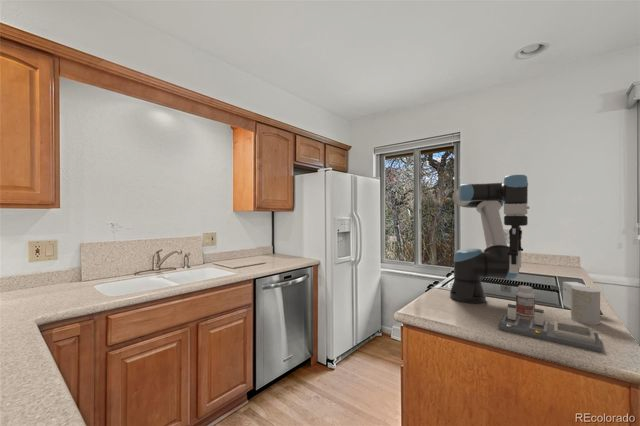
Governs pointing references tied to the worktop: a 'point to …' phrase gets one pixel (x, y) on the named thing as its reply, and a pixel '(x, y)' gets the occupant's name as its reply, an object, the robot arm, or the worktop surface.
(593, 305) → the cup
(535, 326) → the panel
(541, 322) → the toggle
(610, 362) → the worktop surface
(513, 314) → the toggle
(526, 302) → the pill bottle
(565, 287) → the small box
